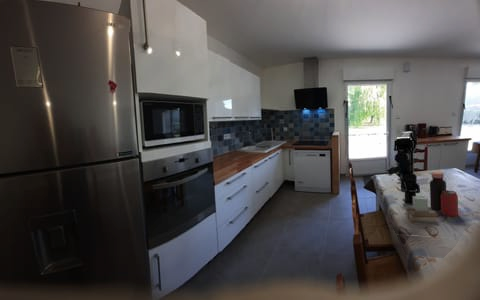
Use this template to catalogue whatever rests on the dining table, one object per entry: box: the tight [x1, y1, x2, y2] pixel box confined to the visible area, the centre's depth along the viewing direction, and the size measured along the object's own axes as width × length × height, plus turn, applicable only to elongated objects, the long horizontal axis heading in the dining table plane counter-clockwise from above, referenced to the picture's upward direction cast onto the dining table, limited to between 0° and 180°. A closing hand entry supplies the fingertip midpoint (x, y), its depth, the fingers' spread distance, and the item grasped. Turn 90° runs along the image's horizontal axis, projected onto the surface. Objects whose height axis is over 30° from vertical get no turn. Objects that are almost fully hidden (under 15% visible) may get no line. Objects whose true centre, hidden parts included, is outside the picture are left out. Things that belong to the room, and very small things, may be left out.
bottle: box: [429, 171, 447, 212], centre depth 129 cm, size 7×7×20 cm
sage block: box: [412, 195, 429, 211], centre depth 120 cm, size 5×5×6 cm
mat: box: [404, 212, 440, 225], centre depth 121 cm, size 14×11×1 cm
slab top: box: [405, 205, 438, 218], centre depth 120 cm, size 10×10×2 cm
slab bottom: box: [406, 211, 437, 222], centre depth 120 cm, size 10×10×2 cm
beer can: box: [440, 189, 459, 217], centre depth 121 cm, size 7×7×12 cm
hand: (405, 188), depth 129 cm, fingers open, 9 cm apart
